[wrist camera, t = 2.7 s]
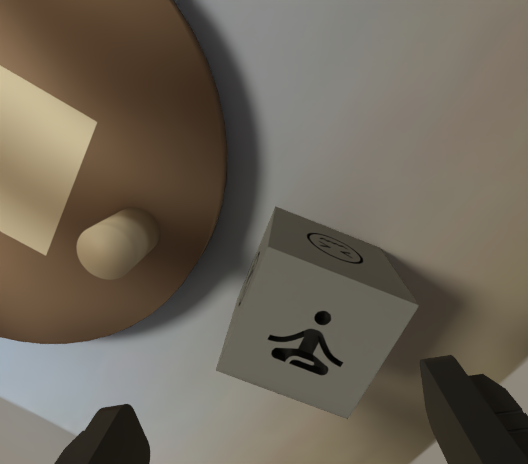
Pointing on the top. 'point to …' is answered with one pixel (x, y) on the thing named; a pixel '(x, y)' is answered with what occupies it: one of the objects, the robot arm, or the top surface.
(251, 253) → the top surface
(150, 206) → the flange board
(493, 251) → the top surface
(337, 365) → the dice cube
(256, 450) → the top surface
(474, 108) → the top surface
